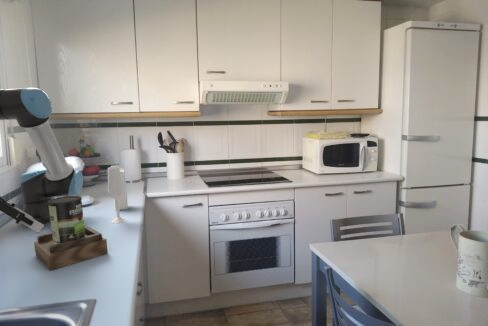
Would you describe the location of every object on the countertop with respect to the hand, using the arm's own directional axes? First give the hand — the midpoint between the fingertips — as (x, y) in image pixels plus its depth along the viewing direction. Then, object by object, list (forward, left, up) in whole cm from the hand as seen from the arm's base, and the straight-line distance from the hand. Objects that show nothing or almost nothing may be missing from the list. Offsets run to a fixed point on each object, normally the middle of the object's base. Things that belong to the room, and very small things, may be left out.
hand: (35, 224), depth 119 cm
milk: (-63, -23, -13) cm, 68 cm away
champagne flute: (-45, -8, -13) cm, 47 cm away
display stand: (-9, +4, -13) cm, 16 cm away
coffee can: (-9, +4, -8) cm, 12 cm away
